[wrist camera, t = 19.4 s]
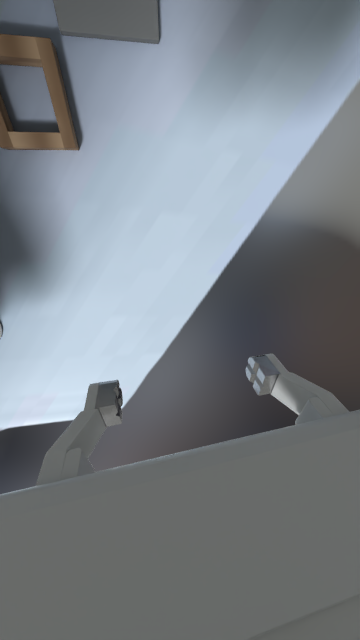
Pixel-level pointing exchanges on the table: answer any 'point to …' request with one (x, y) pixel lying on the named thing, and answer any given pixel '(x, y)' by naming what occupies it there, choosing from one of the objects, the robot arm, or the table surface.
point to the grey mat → (109, 19)
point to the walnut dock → (45, 56)
